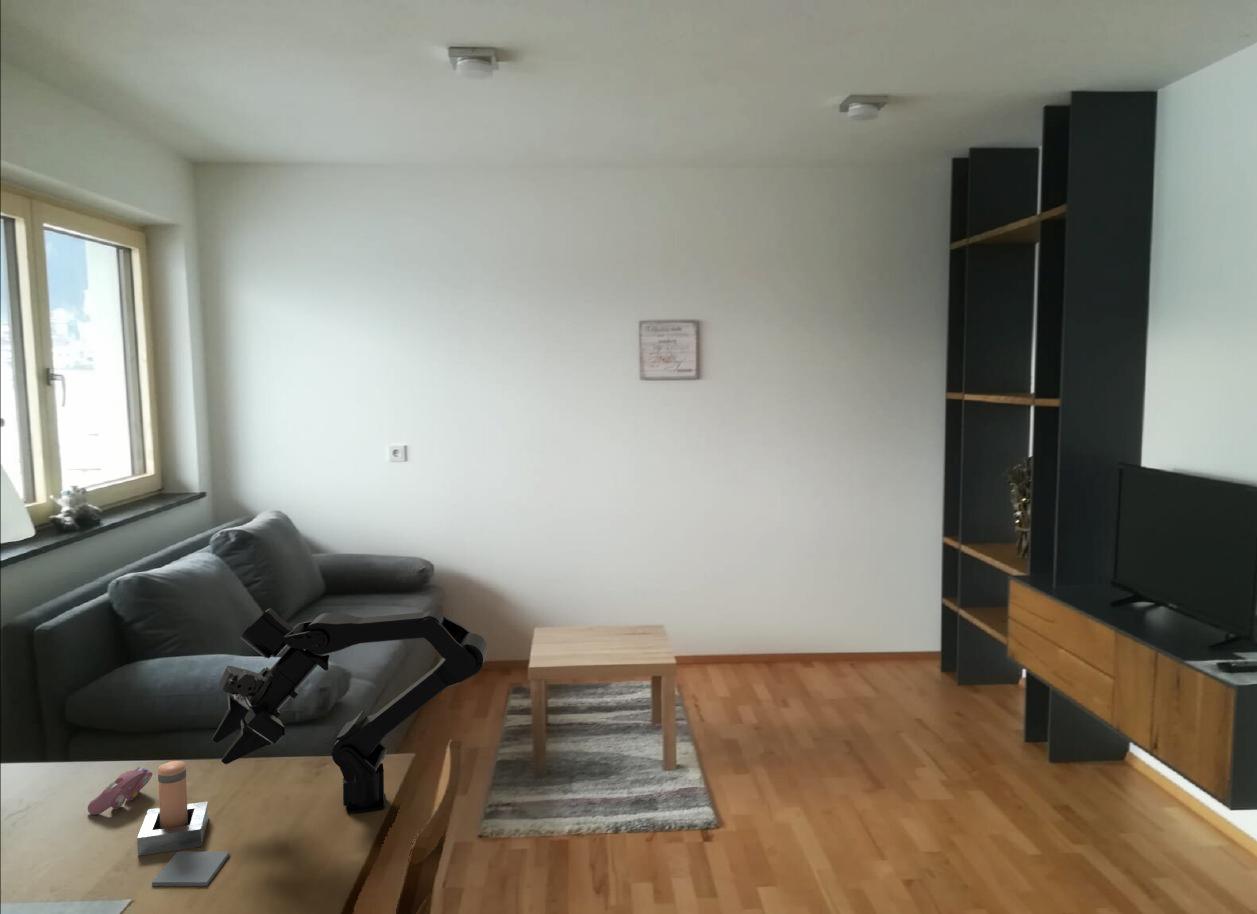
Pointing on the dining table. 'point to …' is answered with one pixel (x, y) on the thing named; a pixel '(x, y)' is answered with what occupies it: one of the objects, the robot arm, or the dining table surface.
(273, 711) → the robot arm
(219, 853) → the mat
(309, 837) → the dining table surface
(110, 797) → the video game controller
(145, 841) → the eye block
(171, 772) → the pin
